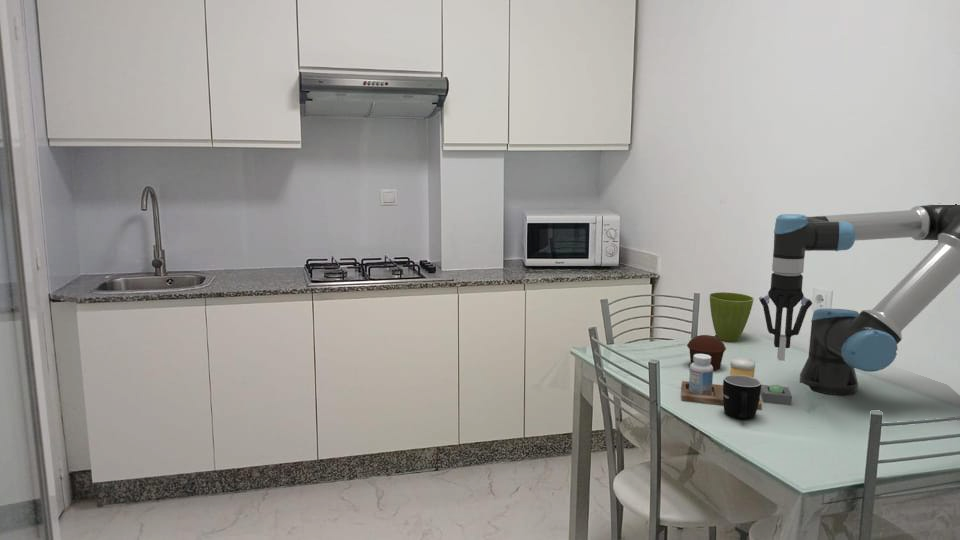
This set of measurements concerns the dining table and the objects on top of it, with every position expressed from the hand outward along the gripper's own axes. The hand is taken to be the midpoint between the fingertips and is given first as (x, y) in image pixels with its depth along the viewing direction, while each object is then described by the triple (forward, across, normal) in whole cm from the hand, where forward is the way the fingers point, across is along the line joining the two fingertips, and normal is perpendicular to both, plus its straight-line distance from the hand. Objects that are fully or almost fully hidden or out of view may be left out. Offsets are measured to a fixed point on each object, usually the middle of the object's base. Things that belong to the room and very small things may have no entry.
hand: (780, 358), depth 176 cm
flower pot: (+13, +9, -62) cm, 64 cm away
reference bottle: (+11, +10, +4) cm, 15 cm away
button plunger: (+11, +1, 0) cm, 11 cm away
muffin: (+13, +18, -26) cm, 34 cm away
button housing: (+12, +1, 0) cm, 12 cm away
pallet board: (+12, +15, +4) cm, 20 cm away
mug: (+12, +11, +16) cm, 23 cm away
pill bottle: (+11, +20, +4) cm, 23 cm away
